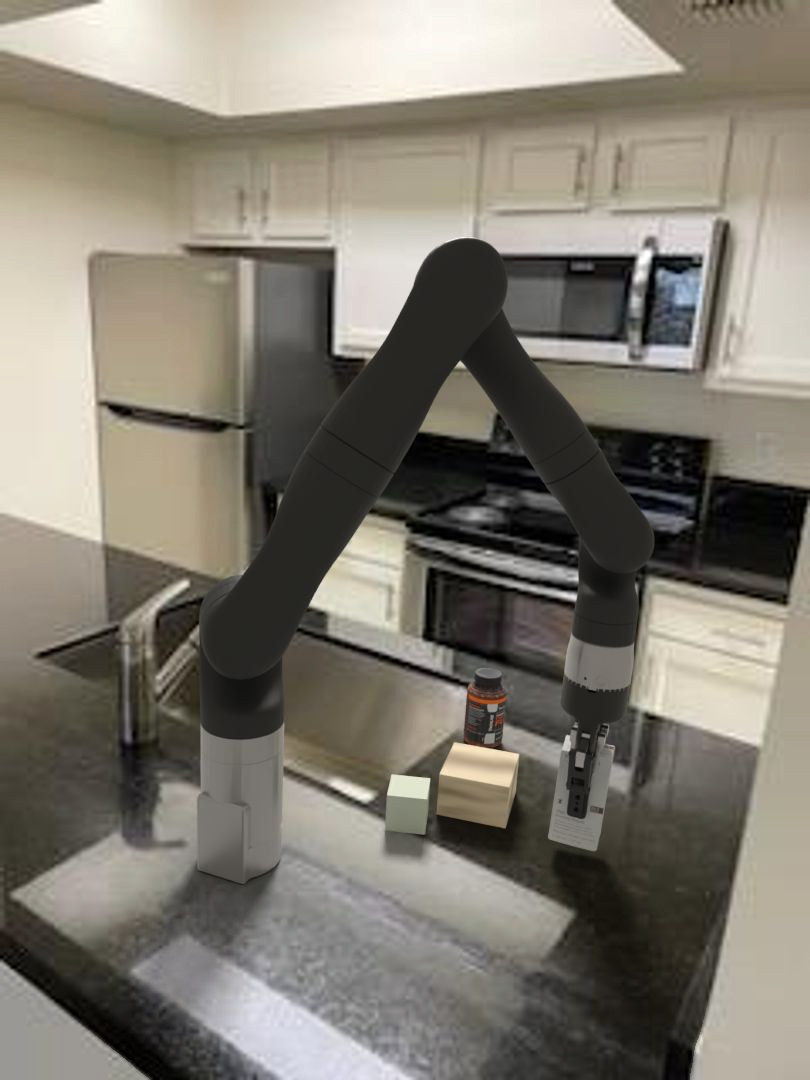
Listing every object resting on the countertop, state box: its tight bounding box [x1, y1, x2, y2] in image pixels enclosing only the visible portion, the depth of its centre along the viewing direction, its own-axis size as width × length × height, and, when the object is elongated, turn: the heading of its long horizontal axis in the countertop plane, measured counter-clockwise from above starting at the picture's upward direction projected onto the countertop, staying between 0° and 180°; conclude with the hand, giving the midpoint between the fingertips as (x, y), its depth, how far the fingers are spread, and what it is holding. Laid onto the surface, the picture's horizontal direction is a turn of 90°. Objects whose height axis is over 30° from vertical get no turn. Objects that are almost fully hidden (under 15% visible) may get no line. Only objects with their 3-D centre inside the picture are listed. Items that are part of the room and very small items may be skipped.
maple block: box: [436, 741, 520, 829], centre depth 111 cm, size 9×9×6 cm
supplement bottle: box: [463, 667, 508, 749], centre depth 127 cm, size 6×6×11 cm
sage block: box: [384, 773, 431, 836], centre depth 106 cm, size 5×5×5 cm
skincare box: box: [547, 734, 616, 852], centre depth 100 cm, size 6×4×12 cm
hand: (579, 805), depth 101 cm, fingers closed on skincare box, 4 cm apart
